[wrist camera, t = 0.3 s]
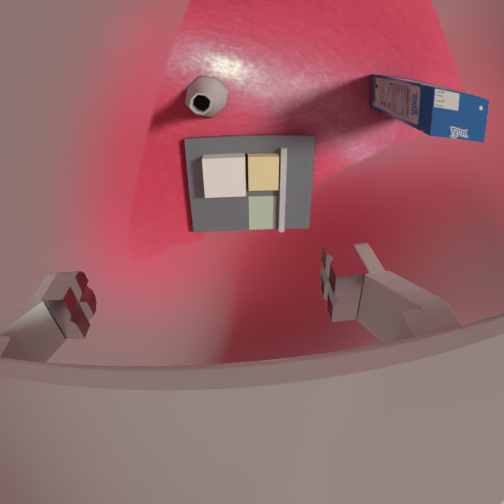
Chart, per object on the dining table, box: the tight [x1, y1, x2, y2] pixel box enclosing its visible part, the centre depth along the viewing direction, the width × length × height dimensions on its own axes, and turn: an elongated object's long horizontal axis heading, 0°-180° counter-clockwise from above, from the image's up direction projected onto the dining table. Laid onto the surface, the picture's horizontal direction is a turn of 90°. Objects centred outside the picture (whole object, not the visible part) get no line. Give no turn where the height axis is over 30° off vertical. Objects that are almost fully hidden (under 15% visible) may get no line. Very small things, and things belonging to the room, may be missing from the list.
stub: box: [248, 153, 279, 191], centre depth 53 cm, size 6×5×2 cm
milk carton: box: [371, 74, 489, 142], centre depth 40 cm, size 10×6×20 cm, turn 93°
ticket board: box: [184, 134, 315, 232], centre depth 55 cm, size 18×22×4 cm
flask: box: [184, 76, 229, 118], centre depth 44 cm, size 7×7×10 cm
